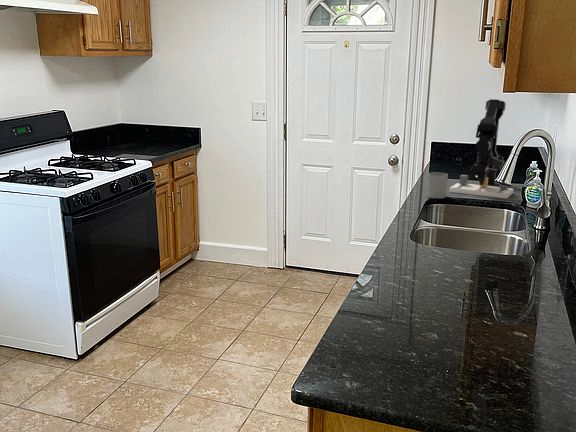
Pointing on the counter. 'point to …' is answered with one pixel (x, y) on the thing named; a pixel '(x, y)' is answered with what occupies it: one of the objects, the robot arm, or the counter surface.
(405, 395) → the counter surface
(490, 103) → the robot arm
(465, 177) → the switch
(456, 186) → the breaker panel
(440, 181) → the cup
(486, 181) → the orange matte cube
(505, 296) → the counter surface
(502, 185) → the switch
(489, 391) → the counter surface
